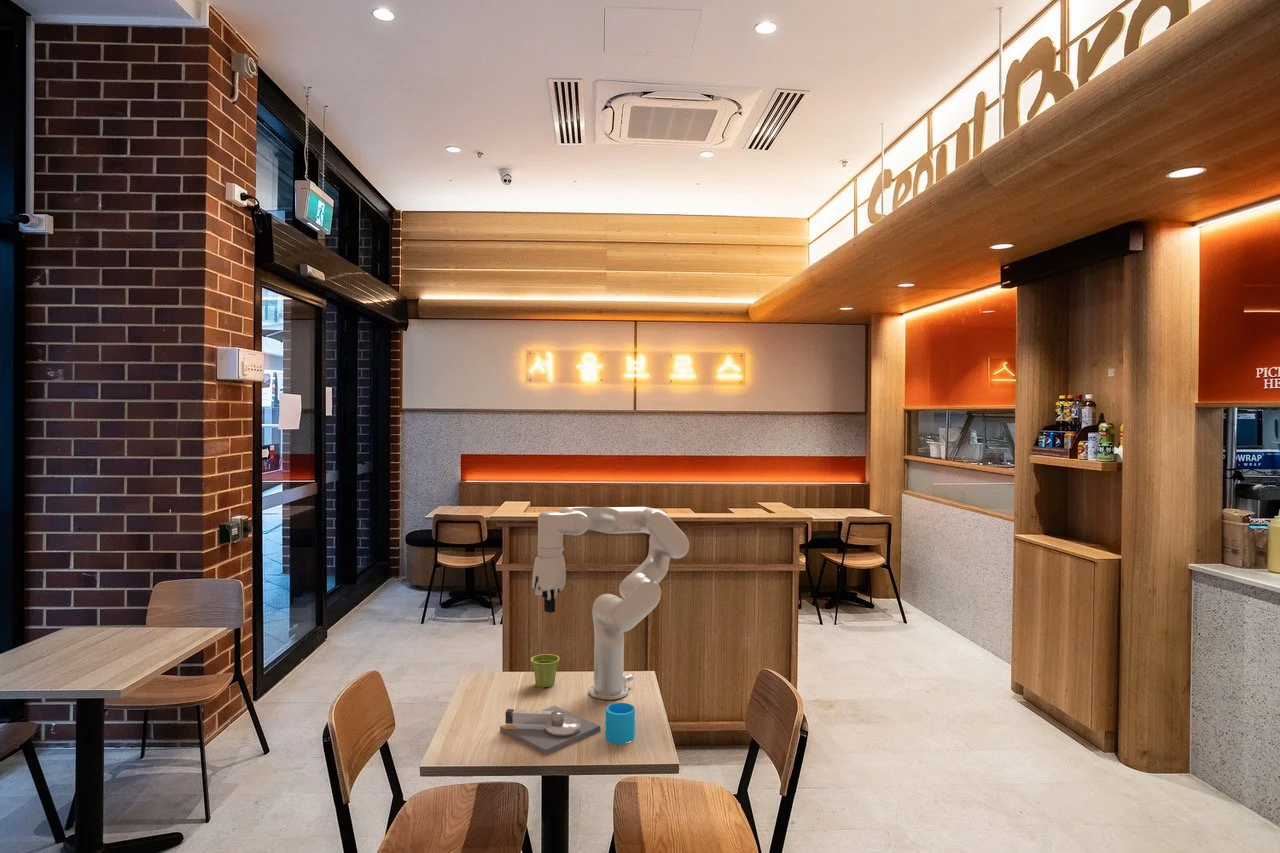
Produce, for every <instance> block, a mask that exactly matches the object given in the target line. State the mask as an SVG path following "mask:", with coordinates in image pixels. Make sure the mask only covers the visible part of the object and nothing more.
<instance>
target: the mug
mask: <svg viewBox="0 0 1280 853" xmlns="http://www.w3.org/2000/svg"><path fill="white" fill-rule="evenodd" d="M604 733H605V740H606V741H607V742H608V743H610V744H613V743H614V745H625V744H624V743H626V742H629V741H632V740H633V739H634V740H635V738H636V737H635V736H636V735H635V734H636V707H635V706H634V705H633V704H630V703H628V702H613V703H610V704H609V705H606V707H605V732H604ZM634 737H635V738H634ZM634 740H633V741H634ZM633 741H632V742H633Z"/></svg>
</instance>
